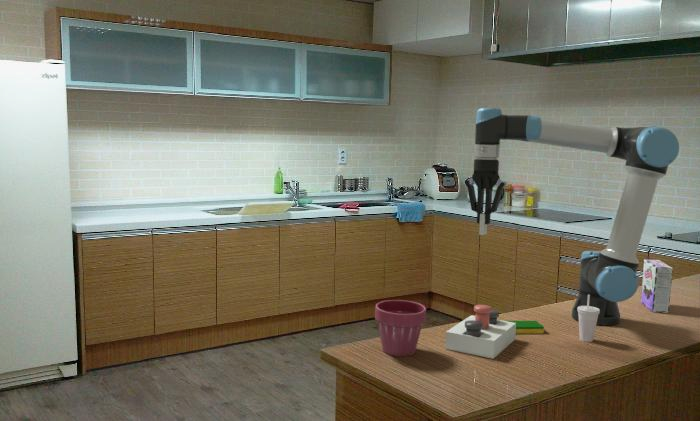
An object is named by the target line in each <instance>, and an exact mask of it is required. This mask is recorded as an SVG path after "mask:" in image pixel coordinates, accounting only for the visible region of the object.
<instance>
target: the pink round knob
mask: <svg viewBox="0 0 700 421" xmlns="http://www.w3.org/2000/svg"><path fill="white" fill-rule="evenodd" d="M492 310H493V309H492V306H491V305H488V304H487V305H486V304H476V305H473V312H475V315H474V316H475V321H480V322H482V323H483V329H489V318H490V313H491V312H492Z"/></svg>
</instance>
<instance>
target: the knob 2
mask: <svg viewBox="0 0 700 421" xmlns="http://www.w3.org/2000/svg"><path fill="white" fill-rule="evenodd" d="M499 317H500V311H498V310H496V309H492V312H491V313H490V318H489V324H493V325H496V324H497V320H498V318H499Z"/></svg>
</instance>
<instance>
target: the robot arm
mask: <svg viewBox="0 0 700 421" xmlns="http://www.w3.org/2000/svg"><path fill="white" fill-rule="evenodd" d="M474 133H475V134H474V136H475V137H474V140H475V142H474V154H473V156H474V157H475V159H474V160H473V173H472V175H471V177H470V178H469V179H466V180H464V184H465V186H466V188H467V191H468V197H469V203H470V209H471V211H473V212H475V213H476V223H477V224H479V230H478V231H479V233H478V235H480V236H484V235H487V233H488V232H487V231H488V230H487V229H488V225H490V224H491V215H492V213H495V212H497V211H498V208H499V205H500V202H501V198H502V194H503V191H504V189H505V188H506V186H507V182H506V181H503V180H502V179H501V178H500V177H501V176H500V174H499V171H500V170H499V167H500V161H499V158H500V148H501V146H500V144H501V140H503V141H505V140H507V141H508V140H511V141H520V142H526V143H527V142H529V143H535V144H542V145H549V146H550V145H551V146H557V147H562V148H569V149H577V150H583V151H591V152H599V153H603V154H604V153H605V154H606V156H607V157H609V158H610V157H611V158H614V159H616V158H617V159H620V160H624V161H625V165H624V168H625V169H626V171H627V176H626V180H625V183H624V187H623V191H622V193H621V198H620V200H619V203H618V207H617V210H616V213H615V214H616V215H615V217H614V220H613V225H612V229H611V231H610V234H609V238H608V241H607V245H606V247H605V248H604V249H602V250H585V251H583V252H581V256H580V257H581V258H580V260H579V261H580V268H579V272H580V273H579V284H578V285H579V286H578V294H577V296H576V299H575V302H574V305H573V306H572V309H571V318H573V320H576V321H578V322H579V317H578V311H577V307H579V306H587V300H588V294H589V295H590V300H589V306H592V307H596V308H598V309H600V313H599V314H598V319H597V324H596V326H614V325H618V324H619V323H621V313H620V309H619V305H618V303H620V302H625V301H627V300H629V299H631V298H632V297H634V295H635V294H636V293H637V291H638V288H639V278H638V275H637V272H638V268H639V265H640V261H639V260H638V258H637V256H636V255H637V252H638V248H639V246H640V241H641V239H642V235H643V232H644V229H645V225H646V223H647V219H648V215H649V211H650V208H651V205H652V202H653V199H654V195H655V193H656V188H657V186H658V183H659V180H660V179H661V178H664V177H665V176H666V175H667V171H668V168H669V165H671V164H672V163H674V161H675V160H677V157H678V155H679V153H680V144H679V140H678V137H677V136H676V135H675V133H673V131H672V130H670V129H667V128H666V127H663V126H662V127H661V126H656V125H654V126H637V127H618V126H613V127H612V128H610V129H609V128H602V127H595V126H594V127H593V126H586V125H582V124H581V125H579V124H572V123H564V122H558V121H551V120H543V119H542V118H541V117H540V116H539V115H532V114H531V115H529V114H528V115H523V114H522V115H519V114H518V115H517V114H515V115H513V114H511V115H509V114H503V113H502V109H501V108H498V107H481V108H478V110H477V111H476V119H475V132H474ZM474 183H475V184H474ZM474 185H476V187H477V197H476V190H475V187H474ZM495 186H497V188H496V191H495V193H494V198H493V191H494V190H493V189H494V187H495ZM484 200H485V201H484Z"/></svg>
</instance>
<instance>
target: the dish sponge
mask: <svg viewBox="0 0 700 421" xmlns="http://www.w3.org/2000/svg"><path fill="white" fill-rule="evenodd" d="M506 321H507V322H513V323H516V334H544V332H545V327H544V326H543V325H542V324H541V323H539V322H538V321H537V320H506Z"/></svg>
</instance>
